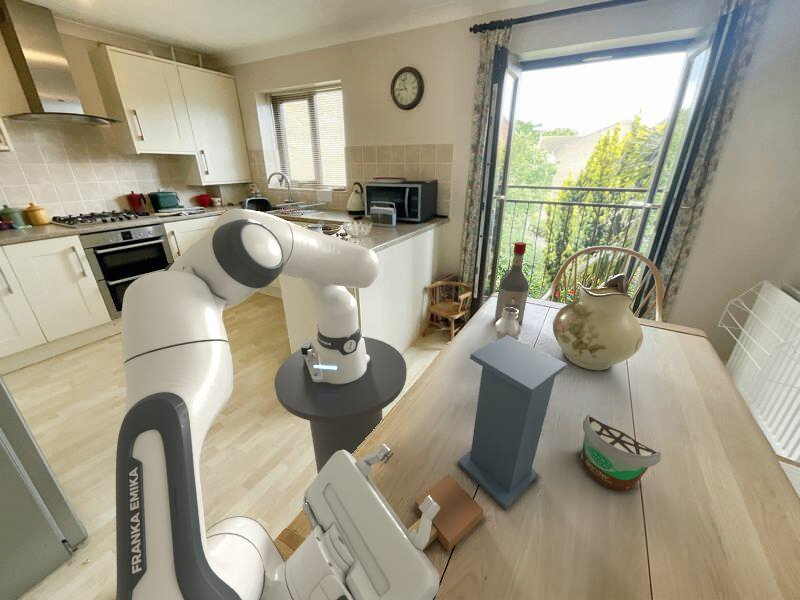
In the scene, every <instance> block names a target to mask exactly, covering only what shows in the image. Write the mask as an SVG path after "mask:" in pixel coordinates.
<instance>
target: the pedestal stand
mask: <svg viewBox="0 0 800 600" xmlns="http://www.w3.org/2000/svg"><path fill="white" fill-rule="evenodd" d="M469 359H470V360H471V361H472V362H474V363H476V364H477V365H480V366H481V367H482V368H481V375H480V382H479V388H478V389H479V390H478V396H477V404H476V411H475V418H474V425H473V433H472V441H471V448H470V451H469V452H468V453H467V454H465V455H464V456H463V457H461V458H460V459H459V460H458V461H457V465H458V466H459V467H460V468H461V469H462V470H463V471H464V472H465V473H466V474H467V475H468V476H469V477H470V478H471V479H472V480H473V481H475V482H476V484H477V485H479V486H480V487H481V488H482V489H483V490H484V491H485V492H486V493H487V494H488V495H489V496H490V497H491V498H492V499H494V501H495V502H496V503H498V504H499V505H500V506H501V507H502V508H503V510H507V509H508V507H510V506H511V505H512V504H513V502H515V500H516V499H518V497H519V496H520V495H522V493H523V492H524V491H525V490H526V489H528V487H529V486H530V485H531V484H532V483H533V482H534V480H536V479H537V478H538V475H539V473H538V472H537V471H536V470H534V469H533V465H534V460H535V457H536V454H537V450H538V446H539V442H540V438H541V434H542V432H543V431H542V430H543V426H544V423H545V418H546V414H547V411H548V407H549V403H550V399H551V395H552V391H553V387H554V384H555V380H556V378H557V376H559V375H560V374H562V372H564V371H565V370H567V367H568V363H566V362H564V361H562V360H561V359H558V358H556V357H554V356H552V355H550V354H548V353H545V352H544V351H542V350H539V349H537V348H535V347H533V346H530V345H529V344H527V343H524V342H522V341H520V340H519V339H518V340H516V339H514V338H512V337H510V336H508V335H507V336H505V337H503V338H501V339H499V340H497V341H495V342H491V343H489V344H488V345H485V346H483V347H482V348H479V349H477V350H475V351H474V352H472V353H470V356H469Z"/></svg>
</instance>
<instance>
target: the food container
mask: <svg viewBox="0 0 800 600" xmlns="http://www.w3.org/2000/svg"><path fill="white" fill-rule="evenodd" d="M591 414H592V412H589V413H587V414H586V416H585V417H584V418H583V420H582V430H583V433H584V436H583V442H582V448H581V456H580V462H581V464H582V467H583V469H584V470H585V472H586V473H587V474H588V476H590V477H591V478H592V479H593V480H594V481H596V482H597V483H599V484H600V485H602V486H603V487H606V488H608V489H611V490H613V491H619V492H627V491H630V490H633V489H634V488H635V487H636V486H637V484H638V482H639V481H641V479H642V477H643V476H644V475H645V473H646V472H647V471H648V469H649V468H650V467H653V466H656V465H658V464H659V463H660V462H661V460H662V454H663V453H662V452H661V451H662V449H659V450H658V452H657V451H656V450H654V449H652V448H650V447H648V446H645V445H644V444H643V443H641V442H638V441H637V440H636V439H634V438H632V437H631V436H630V435H628V434H627V433H625V432H623V431H621V430H619V429H617V428H614V427H612V426H610V425H607V424H605V423H603V422H601V421H600V420H598V419H596V418H594V417H592V416H591Z"/></svg>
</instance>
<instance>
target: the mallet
mask: <svg viewBox="0 0 800 600" xmlns="http://www.w3.org/2000/svg"><path fill="white" fill-rule="evenodd" d="M428 495H429V496H431V497H432V498H433V499H434V500H435V502H436V503H437V504H438V505H439V506H440V509H439V511H438V512H437V514H436V515H435V516H434V518H433V519H432V520H431V521H432V525H431V531H430V537H429V542H428V543H427V544H426V546H425V547H424V549H423V550H422V551H423V552H424V550H425V549H426V548H427V547H428V546H429V545H431V544H432V543H433V542H434V541H435V540H436V539H437V540H438V541H439V542H440V543H441V545H442V546H443V547H444V549H445V550H446V551H447V552H448V553H449V552H450V551H451V550H452V549H453V548H454V547H455V546H456V545H457V544H458V543H459V542H460V541H462V539H463V538H464V537H465V536H466V535H467V534H468V533H469V532H470V531H471V530H472V529H473V528H474V527H475V526H476V525H477V524H479V522H481V520H482V519H483V514H484V508H483V507H482V506H481V505H480V504H479V503H478V502H477V501H476V500H475V499H474V498H473V497H472V496H471V495H470V494H469V493H468V492H467V491H466V490H465V489H464V488H463V487H462V486H461V485H460V484H459V482H457V481H456V480H455V479H454V478H453V477H452V476H451V475H450V474H449V473H447V474H446V475H445V476H444V477H442V478H441V479H440V480H439V481H438V482H436V483H435V484H433V486H431V487H430V488H429V489H427V490H426V491H425V492H423V493H422V494H420V496H419V497H416V499H415V500H414V511H415V512H416V514H417V515H418V516H419V517H420V518H419V519H418V520H416V521H415V522H414V523H413V524H412V525H411V526H410V527H408V528H406V529H407V530H408V531H409V533H411V532H412V530H413V529H416V530H418V529H419V525H420V521H421V517H422V513H423V512H422V511H421V510H420V508H419V506H420V504H421V503H422V502H424V499H425V498H426V497H427V496H428Z"/></svg>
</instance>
